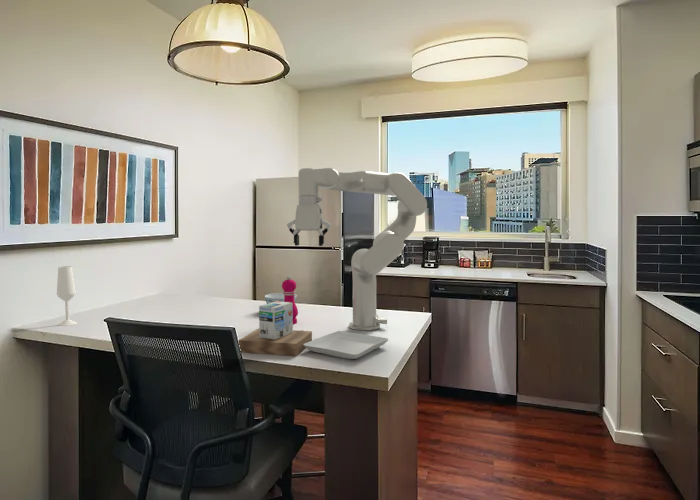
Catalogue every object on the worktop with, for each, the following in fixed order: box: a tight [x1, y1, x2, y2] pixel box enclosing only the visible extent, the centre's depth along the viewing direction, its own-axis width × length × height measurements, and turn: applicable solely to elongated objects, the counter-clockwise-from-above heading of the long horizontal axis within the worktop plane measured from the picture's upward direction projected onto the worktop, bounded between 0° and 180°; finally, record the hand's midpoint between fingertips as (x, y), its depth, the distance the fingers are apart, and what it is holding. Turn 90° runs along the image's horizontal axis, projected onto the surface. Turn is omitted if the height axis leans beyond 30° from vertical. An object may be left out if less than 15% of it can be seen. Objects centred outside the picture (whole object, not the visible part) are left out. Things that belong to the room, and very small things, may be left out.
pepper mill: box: [281, 275, 299, 325], centre depth 183 cm, size 7×7×20 cm
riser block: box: [238, 328, 313, 357], centre depth 149 cm, size 20×16×4 cm
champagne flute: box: [56, 265, 78, 327], centre depth 182 cm, size 7×7×24 cm
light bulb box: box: [258, 301, 294, 340], centre depth 148 cm, size 11×7×11 cm, turn 153°
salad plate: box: [303, 330, 389, 360], centre depth 146 cm, size 21×21×3 cm
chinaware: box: [264, 292, 298, 304], centre depth 206 cm, size 15×15×8 cm
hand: (308, 245), depth 169 cm, fingers open, 9 cm apart
